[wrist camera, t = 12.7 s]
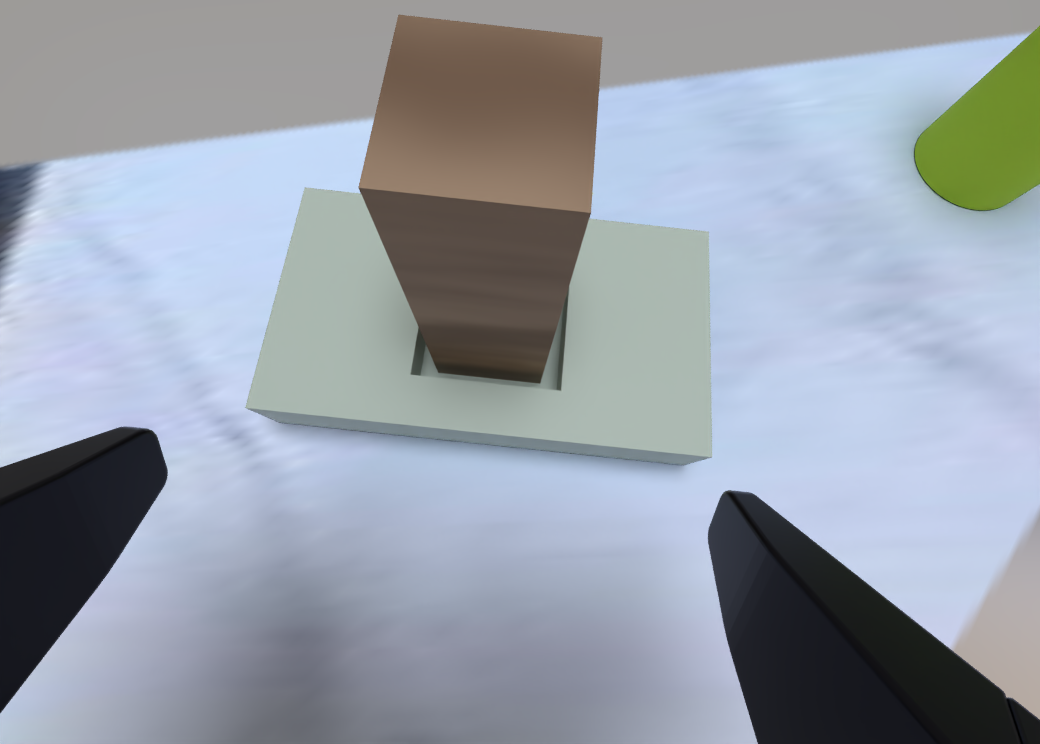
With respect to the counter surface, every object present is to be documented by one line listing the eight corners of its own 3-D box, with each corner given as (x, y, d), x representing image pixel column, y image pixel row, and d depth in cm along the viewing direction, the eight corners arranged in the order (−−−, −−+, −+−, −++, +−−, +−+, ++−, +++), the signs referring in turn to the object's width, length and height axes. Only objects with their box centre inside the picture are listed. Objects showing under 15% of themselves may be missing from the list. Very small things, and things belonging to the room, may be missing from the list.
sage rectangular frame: (684, 265, 24) (708, 231, 22) (683, 465, 22) (712, 457, 19) (327, 226, 24) (304, 187, 21) (279, 422, 21) (245, 407, 19)
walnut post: (540, 383, 21) (590, 213, 9) (438, 372, 21) (358, 187, 9) (548, 291, 23) (602, 37, 11) (452, 281, 23) (398, 14, 11)
